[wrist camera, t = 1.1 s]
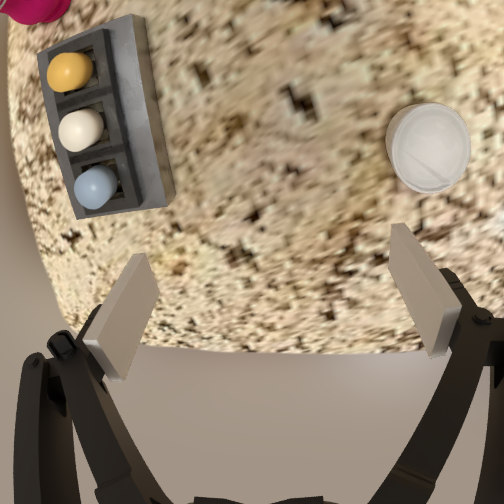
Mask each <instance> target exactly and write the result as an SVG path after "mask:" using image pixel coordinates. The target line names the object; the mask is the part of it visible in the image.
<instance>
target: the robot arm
mask: <svg viewBox="0 0 504 504" xmlns="http://www.w3.org/2000/svg"><path fill="white" fill-rule="evenodd" d="M388 269H389V271H390V273H391V275H392V277H393V279H394V281H395V283H396V285H397V287H398V289H399V291H400V293H401V295H402V297H403V300H404V302H405V304H406V306H407V308H408V310H409V312H410V315H411V317H412V319H413V321H414V323H415V326H416V328H417V330H418V332H419V335H420V337H421V339H422V342H423V344H424V346H425V349H426V351H427V353H428V356H429V358H430V359H431V358H435V357H440V356H444V355H445V354H446V352H447V349H448V347H450V349H451V351H452V354H451V357H450V359H449V362H448V364H447V367H446V369H445V371H444V373H443V376H442V378H441V380H440V382H439V384H438V387H437V389H436V391H435V393H434V395H433V397H432V400H431V401H430V403H429V405H428V407H427V409H426V411H425V413H424V415H423V417H422V419H421V421H420V423H419V424H418V426H417V428H416V430H415V432H414V434H413V435H412V437H411V439H410V441H409V442H408V444H407V446H406V447H405V449H404V451H403V452H402V454H401V456H400V457H399V459H398V461H397V462H396V464H395V465H394V467H393V468H392V470H391V471H390V473H389V474H388V476H387V477H386V479H385V480H384V482H383V483H382V485H381V486H380V487H379V489H378V490H377V492H376V493H375V494H374V496H373V497H372V499H371V500H370V501H369V503H368V504H426V503H427V501H428V500H429V498H430V496H431V494H432V492H433V491H434V488H435V482H436V480H437V478H438V476H439V474H440V472H441V470H442V468H443V466H444V464H445V462H446V460H447V458H448V456H449V454H450V452H451V450H452V448H453V446H454V444H455V441H456V439H457V437H458V435H459V432H460V430H461V427H462V425H463V423H464V420H465V418H466V415H467V413H468V410H469V408H470V405H471V402H472V400H473V397H474V394H475V391H476V388H477V385H478V382H479V379H480V376H481V373H482V370H483V366H490V397H489V412H488V423H487V433H486V441H485V449H484V455H483V461H482V468H481V473H480V478H479V483H478V488H477V492H476V496H475V501H474V504H504V318H494V316H493V314H492V313H491V312H490V311H489V310H487V309H485V308H481V307H478V306H477V305H476V303H475V302H474V300H473V299H472V297H471V296H470V294H469V293H468V291H467V290H466V288H464V286H463V284H462V283H461V282H460V280H459V278H458V277H457V276H456V274H455V273H453V272H452V271H451V270H449V269H448V268H442V269H438V268H437V267H436V265H435V264H434V262H433V261H432V259H431V258H430V257H429V255H428V254H427V252H426V251H425V250H424V248H423V247H422V245H421V244H420V243H419V241H418V240H417V239H416V237H415V236H414V235H413V233H412V232H411V231H410V229H409V228H408V227H407V225H406V224H405V223H398V224H391V238H390V253H389V266H388ZM159 294H160V291H159V288H158V286H157V283H156V280H155V278H154V275H153V273H152V270H151V267H150V265H149V262H148V259H147V256H146V254H145V253H140V254H133V255H132V257H131V259H130V260H129V262H128V263H127V265H126V266H125V268H124V270H123V271H122V273H121V274H120V276H119V278H118V279H117V281H116V282H115V284H114V286H113V287H112V289H111V291H110V292H109V294H108V296H107V297H106V299H105V301H104V302H103V304H99V305H98V306H97V307H96V308H95V309H94V310H93V311H92V312H91V314H90V315H89V317H88V320H86V322H85V324H84V326H83V327H82V329H81V331H80V332H79V334H78V336H77V338H76V340H74V338H73V336H72V335H71V333H70V332H69V331H67V330H61V331H59V332H56V333H55V334H54V335H52V336H51V337H50V339H49V340H48V342H47V348H48V349H49V351H50V352H51V354H52V355H53V356H54V358H50V359H45V357H44V356H43V355H42V353H39V352H37V353H33V354H31V355H30V356H28V357H27V358H26V360H25V361H24V364H23V367H22V373H21V380H20V387H19V394H18V402H17V412H16V423H15V436H14V464H13V465H14V466H13V470H14V471H13V475H14V477H13V478H14V504H81V499H80V493H79V487H78V479H77V471H76V464H75V453H74V441H73V426H72V420H73V423H74V426H75V429H76V432H77V435H78V438H79V441H80V443H81V446H82V448H83V451H84V454H85V457H86V459H87V462H88V464H89V466H90V469H91V471H92V474H93V476H94V478H95V481H96V483H97V486H98V488H97V489H95V495H96V499H97V501H98V503H99V504H173V503H172V502H171V500H169V498H168V497H167V496H166V495H165V493H164V492H163V491H162V489H161V487H160V486H159V485H158V483H157V481H156V480H155V478H154V476H153V475H152V473H151V471H150V470H149V468H148V466H147V465H146V463H145V461H144V460H143V458H142V456H141V454H140V453H139V451H138V449H137V447H136V446H135V444H134V442H133V440H132V438H131V436H130V434H129V432H128V430H127V429H126V427H125V425H124V423H123V421H122V419H121V417H120V415H119V413H118V410H117V408H116V406H115V404H114V402H113V400H112V398H111V396H110V394H109V391H108V389H107V387H106V385H105V383H104V382H103V380H102V378H103V376H104V374H106V376H107V377H108V379H109V380H110V381H113V382H124V381H125V379H126V376H127V373H128V371H129V368H130V366H131V363H132V360H133V358H134V355H135V353H136V350H137V348H138V345H139V343H140V340H141V338H142V335H143V333H144V330H145V328H146V325H147V323H148V320H149V318H150V316H151V313H152V311H153V308H154V306H155V304H156V301H157V299H158V297H159ZM189 504H242V503H239V502H235V501H231V500H227V499H221V498H206V497H194V502H193V503H189ZM272 504H337V503H332V502H327V501H323V496H318V497H317V496H316V497H305V498H291V499H287V500H284V501H279V502H276V503H272Z"/></svg>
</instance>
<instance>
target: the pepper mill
mask: <svg viewBox="0 0 504 504" xmlns="http://www.w3.org/2000/svg"><path fill="white" fill-rule="evenodd" d="M70 2H71V0H0V12H1V13H5V14H8V15H9V16H10V17H11V18H12V19H14V20H15V21H16V22H18V23H21V24H25V25H33V24H37V23H39V22H53V21H55V20H57V19H58V18H60V17H61V16H62V15H63V14H64V13H65V12H66V10H67V9H68V7H69V5H70Z"/></svg>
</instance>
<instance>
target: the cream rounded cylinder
mask: <svg viewBox="0 0 504 504" xmlns="http://www.w3.org/2000/svg"><path fill="white" fill-rule="evenodd" d="M107 128H108V127H107V123H106V118H105V113H104V112H99V113H98V112H97V111H95V110H93V109H90V108H86V109H82V110H79V111H76V112H73V113H70V114H68V115H66V116H65V117H64V118H63V119H62V121H61V122H60V125H59V131H58V133H59V139H60V141H61V143H62V145H63V146H64V147H65V148H66V149H67V150H69V151H72V152H78V151H81V150H83V149H85V148H86V147H88V146H90V145H92V144H94V143H96V142H97V141H98V140H99V139H100V138H101V136H102V133H103V130H105V129H107Z"/></svg>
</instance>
